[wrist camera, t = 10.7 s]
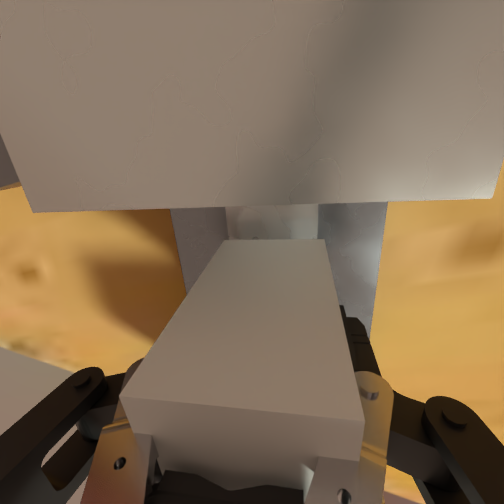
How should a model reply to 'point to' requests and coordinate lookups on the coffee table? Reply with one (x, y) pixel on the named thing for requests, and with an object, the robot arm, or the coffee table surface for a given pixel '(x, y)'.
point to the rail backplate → (255, 116)
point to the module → (252, 371)
